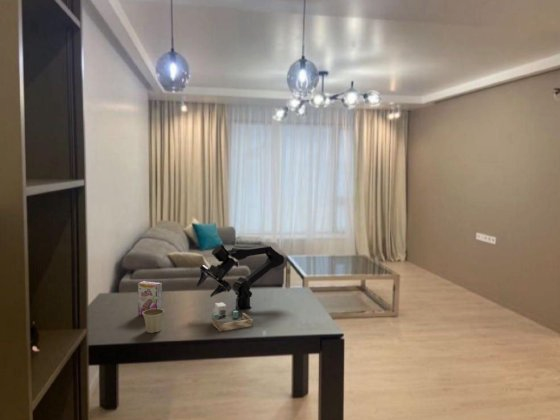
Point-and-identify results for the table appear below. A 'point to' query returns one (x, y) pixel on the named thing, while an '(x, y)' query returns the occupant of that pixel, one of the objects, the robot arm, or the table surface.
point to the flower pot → (153, 319)
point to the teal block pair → (235, 315)
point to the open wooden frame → (233, 323)
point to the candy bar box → (149, 296)
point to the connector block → (220, 309)
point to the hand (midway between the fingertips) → (203, 291)
